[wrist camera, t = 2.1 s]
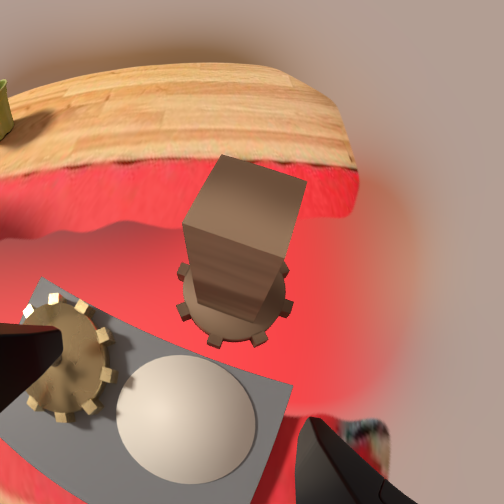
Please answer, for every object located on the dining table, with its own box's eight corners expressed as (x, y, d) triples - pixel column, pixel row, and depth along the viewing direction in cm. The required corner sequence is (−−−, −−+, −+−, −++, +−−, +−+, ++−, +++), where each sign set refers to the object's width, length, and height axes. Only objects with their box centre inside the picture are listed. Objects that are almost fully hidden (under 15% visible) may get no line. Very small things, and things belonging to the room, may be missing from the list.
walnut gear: (270, 366, 21) (329, 336, 10) (158, 325, 22) (103, 253, 11) (301, 264, 25) (358, 166, 14) (202, 230, 26) (198, 117, 15)
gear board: (224, 548, 13) (225, 557, 11) (-3, 424, 14) (-14, 424, 13) (288, 385, 20) (294, 385, 19) (49, 282, 22) (40, 275, 20)
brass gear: (127, 422, 16) (104, 428, 12) (25, 416, 14) (-8, 415, 10) (113, 293, 21) (92, 270, 17) (20, 303, 19) (-9, 284, 15)
